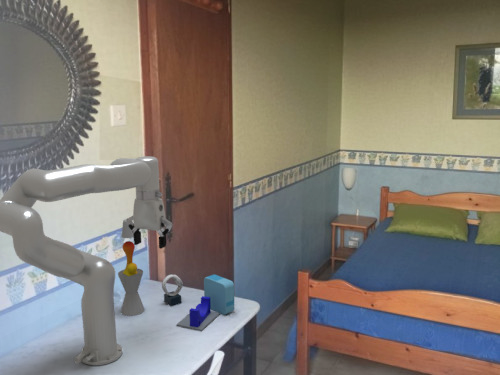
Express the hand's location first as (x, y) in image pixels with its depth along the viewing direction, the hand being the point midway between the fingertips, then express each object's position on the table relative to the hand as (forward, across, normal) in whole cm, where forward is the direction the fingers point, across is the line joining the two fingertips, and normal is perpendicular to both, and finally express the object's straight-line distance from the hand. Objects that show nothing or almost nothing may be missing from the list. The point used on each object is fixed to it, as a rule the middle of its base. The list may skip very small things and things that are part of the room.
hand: (150, 245), depth 166 cm
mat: (+30, -10, -13) cm, 34 cm away
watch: (+30, +6, -22) cm, 38 cm away
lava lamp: (+30, +16, -10) cm, 36 cm away
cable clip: (+30, -11, -12) cm, 34 cm away
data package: (+30, -13, -23) cm, 41 cm away
